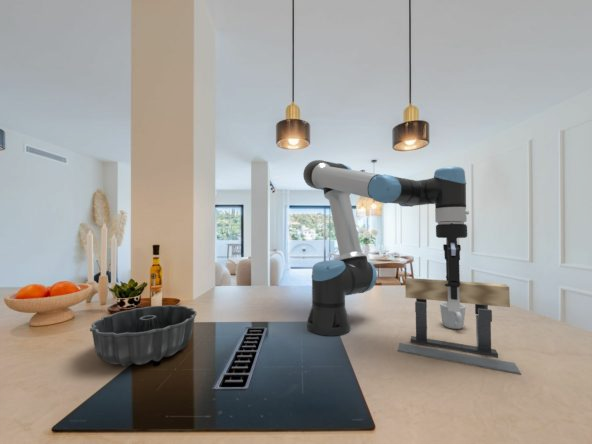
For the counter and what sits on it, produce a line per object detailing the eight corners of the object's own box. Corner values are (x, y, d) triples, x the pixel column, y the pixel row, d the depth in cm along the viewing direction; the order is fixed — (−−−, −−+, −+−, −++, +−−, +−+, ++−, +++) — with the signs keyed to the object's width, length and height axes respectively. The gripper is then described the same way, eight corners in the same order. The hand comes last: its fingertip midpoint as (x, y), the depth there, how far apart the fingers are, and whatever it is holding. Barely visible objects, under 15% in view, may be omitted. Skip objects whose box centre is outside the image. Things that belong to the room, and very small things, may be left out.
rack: (410, 345, 82) (409, 301, 82) (411, 336, 88) (411, 296, 89) (499, 360, 72) (498, 311, 73) (494, 350, 79) (493, 305, 79)
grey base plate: (397, 351, 78) (397, 349, 78) (399, 344, 83) (399, 342, 83) (521, 374, 65) (520, 372, 65) (514, 364, 70) (514, 362, 70)
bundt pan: (106, 340, 85) (107, 308, 85) (195, 330, 94) (196, 301, 95) (70, 386, 60) (72, 340, 61) (196, 365, 70) (197, 326, 70)
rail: (405, 297, 78) (405, 279, 78) (406, 294, 81) (406, 277, 82) (509, 307, 67) (509, 286, 67) (505, 303, 71) (505, 284, 71)
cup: (473, 334, 90) (472, 310, 91) (447, 333, 92) (446, 309, 92) (460, 323, 101) (460, 302, 101) (437, 322, 102) (437, 301, 103)
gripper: (471, 222, 66) (474, 319, 65) (463, 224, 81) (465, 303, 80) (436, 222, 69) (438, 315, 68) (435, 224, 84) (437, 300, 84)
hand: (453, 308), depth 74 cm, fingers closed on rail, 4 cm apart
